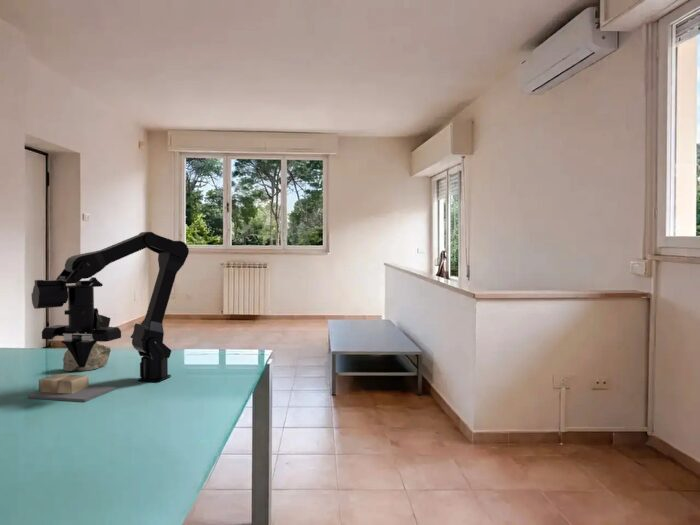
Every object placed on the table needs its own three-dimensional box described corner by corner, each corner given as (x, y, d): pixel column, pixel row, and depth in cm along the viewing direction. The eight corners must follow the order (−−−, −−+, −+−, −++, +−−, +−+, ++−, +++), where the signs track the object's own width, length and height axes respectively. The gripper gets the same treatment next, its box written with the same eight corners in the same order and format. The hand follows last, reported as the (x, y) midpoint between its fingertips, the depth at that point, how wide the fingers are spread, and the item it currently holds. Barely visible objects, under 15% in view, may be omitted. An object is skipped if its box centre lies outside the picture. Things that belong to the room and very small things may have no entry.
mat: (115, 389, 133) (115, 387, 133) (84, 401, 122) (84, 399, 122) (61, 386, 136) (61, 383, 136) (27, 397, 125) (27, 395, 125)
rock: (58, 370, 148) (70, 336, 150) (59, 368, 154) (71, 336, 156) (102, 379, 153) (113, 346, 155) (102, 377, 159) (113, 345, 161)
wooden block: (88, 375, 132) (57, 373, 134) (71, 381, 126) (38, 379, 128) (88, 387, 132) (57, 385, 134) (71, 393, 127) (38, 391, 128)
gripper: (134, 302, 135) (134, 361, 135) (72, 301, 139) (73, 358, 139) (105, 307, 124) (106, 372, 124) (39, 305, 128) (40, 368, 128)
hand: (82, 367), depth 129 cm, fingers closed
